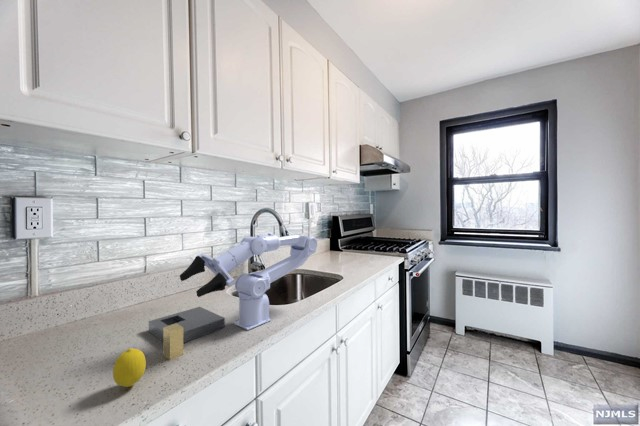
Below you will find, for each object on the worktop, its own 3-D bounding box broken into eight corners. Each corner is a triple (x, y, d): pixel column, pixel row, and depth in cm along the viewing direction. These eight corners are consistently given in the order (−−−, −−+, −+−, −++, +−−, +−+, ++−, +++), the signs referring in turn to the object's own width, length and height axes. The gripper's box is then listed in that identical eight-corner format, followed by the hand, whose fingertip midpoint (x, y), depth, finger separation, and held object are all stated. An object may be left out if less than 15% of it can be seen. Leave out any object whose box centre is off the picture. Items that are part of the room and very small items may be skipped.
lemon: (140, 375, 58) (141, 339, 58) (149, 385, 54) (149, 347, 54) (109, 388, 53) (109, 349, 53) (116, 400, 50) (117, 359, 50)
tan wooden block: (176, 349, 69) (176, 323, 69) (183, 354, 66) (183, 327, 66) (163, 354, 66) (163, 327, 66) (169, 360, 64) (170, 331, 64)
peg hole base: (199, 314, 92) (199, 306, 92) (224, 327, 82) (224, 317, 82) (148, 331, 79) (148, 321, 79) (170, 347, 69) (170, 336, 69)
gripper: (214, 238, 80) (171, 261, 70) (246, 263, 74) (203, 292, 64) (216, 254, 84) (175, 278, 74) (246, 279, 78) (206, 308, 69)
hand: (188, 286), depth 70 cm, fingers open, 7 cm apart
